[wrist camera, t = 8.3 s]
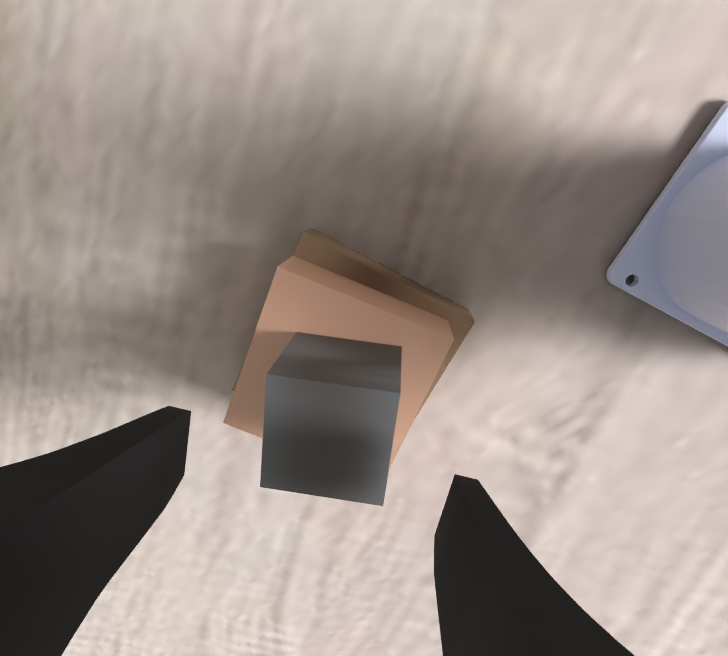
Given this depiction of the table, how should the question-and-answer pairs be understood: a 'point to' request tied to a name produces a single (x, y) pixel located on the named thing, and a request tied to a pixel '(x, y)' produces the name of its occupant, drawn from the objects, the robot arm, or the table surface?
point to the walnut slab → (384, 286)
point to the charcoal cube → (331, 418)
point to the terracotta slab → (342, 320)
